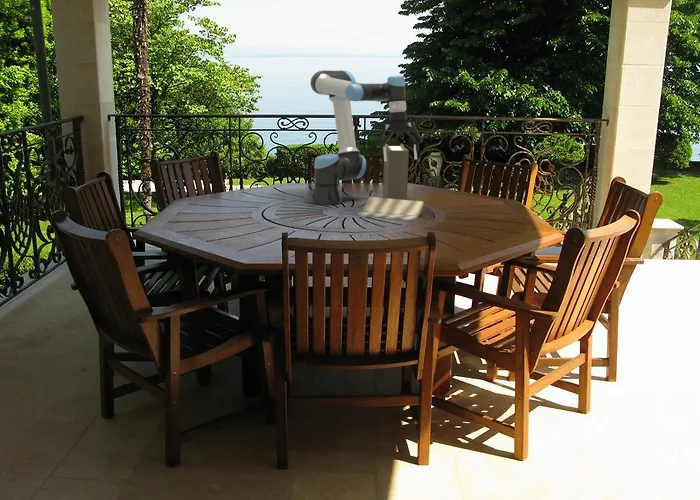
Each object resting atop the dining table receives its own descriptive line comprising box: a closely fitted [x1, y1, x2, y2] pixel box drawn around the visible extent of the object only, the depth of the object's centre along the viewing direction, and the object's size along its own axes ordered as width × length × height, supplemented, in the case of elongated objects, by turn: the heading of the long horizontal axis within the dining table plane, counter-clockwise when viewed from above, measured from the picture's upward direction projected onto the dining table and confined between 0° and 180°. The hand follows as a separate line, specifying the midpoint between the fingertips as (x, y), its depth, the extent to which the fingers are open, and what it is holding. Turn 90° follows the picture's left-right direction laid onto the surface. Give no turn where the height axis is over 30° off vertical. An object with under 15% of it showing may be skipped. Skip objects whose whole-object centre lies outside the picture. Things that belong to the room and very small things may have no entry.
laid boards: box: [356, 210, 418, 222], centre depth 292 cm, size 26×6×2 cm, turn 65°
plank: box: [362, 196, 425, 219], centre depth 298 cm, size 26×9×2 cm
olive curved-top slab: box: [382, 143, 410, 200], centre depth 327 cm, size 22×9×28 cm, turn 3°
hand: (400, 160), depth 295 cm, fingers open, 13 cm apart
